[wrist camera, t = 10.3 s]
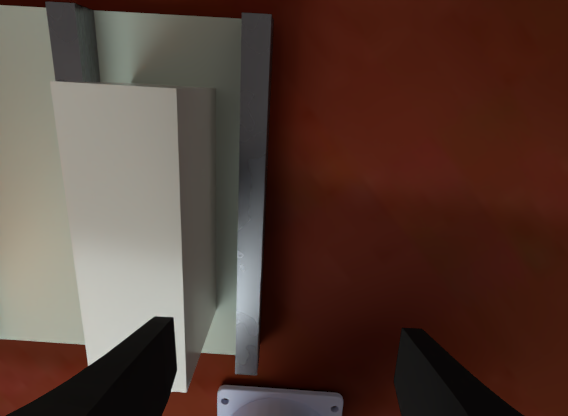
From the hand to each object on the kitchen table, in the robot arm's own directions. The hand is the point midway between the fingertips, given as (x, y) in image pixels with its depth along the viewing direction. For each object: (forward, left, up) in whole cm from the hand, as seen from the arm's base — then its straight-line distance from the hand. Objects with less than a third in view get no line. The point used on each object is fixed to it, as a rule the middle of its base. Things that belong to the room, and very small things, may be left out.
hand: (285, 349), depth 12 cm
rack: (+2, +10, -9) cm, 14 cm away
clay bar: (+2, +6, -8) cm, 10 cm away
